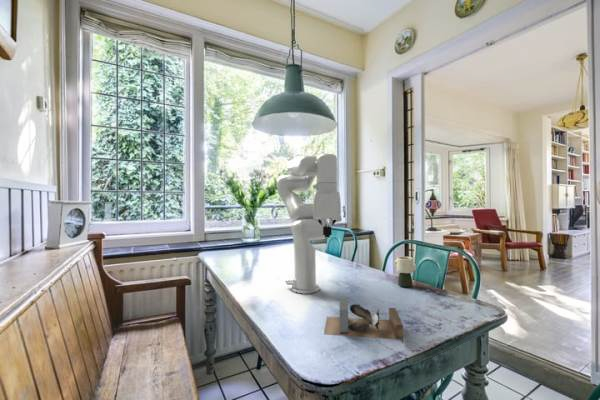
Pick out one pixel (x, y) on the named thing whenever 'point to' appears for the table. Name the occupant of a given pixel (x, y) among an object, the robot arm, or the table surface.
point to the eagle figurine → (364, 314)
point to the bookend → (343, 315)
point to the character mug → (405, 270)
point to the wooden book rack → (369, 327)
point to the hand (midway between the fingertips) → (327, 237)
